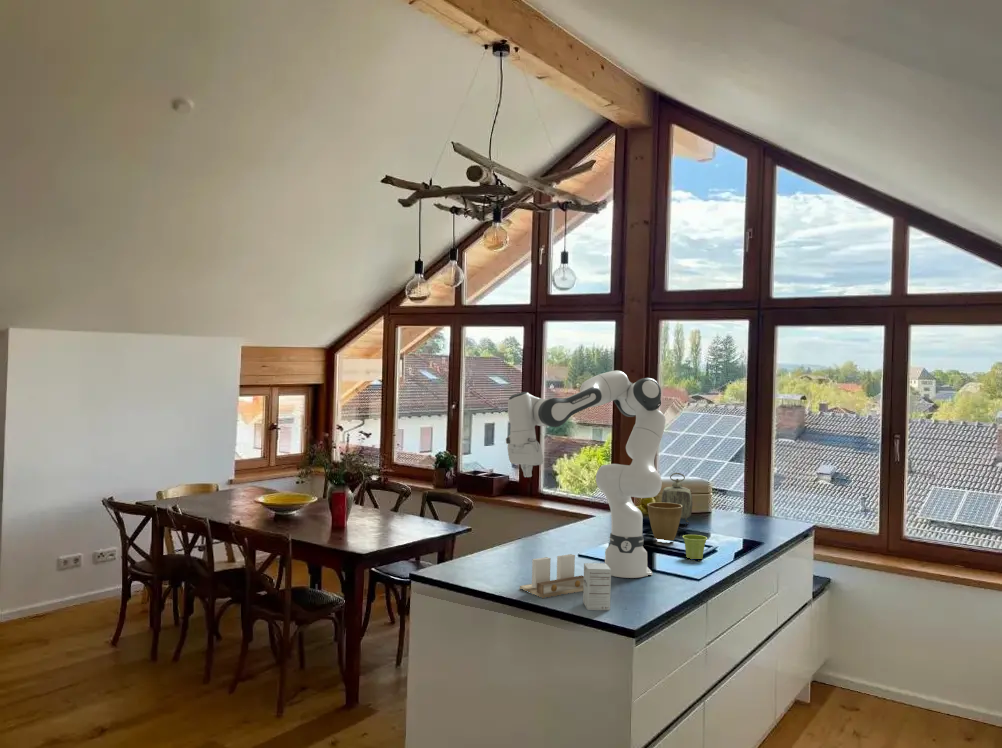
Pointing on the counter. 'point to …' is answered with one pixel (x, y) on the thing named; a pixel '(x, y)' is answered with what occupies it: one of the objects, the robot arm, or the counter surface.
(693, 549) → the plant pot
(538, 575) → the white rectangular block
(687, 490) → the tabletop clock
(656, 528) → the plant pot
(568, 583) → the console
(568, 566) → the block
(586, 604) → the supplement box
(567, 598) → the counter surface
